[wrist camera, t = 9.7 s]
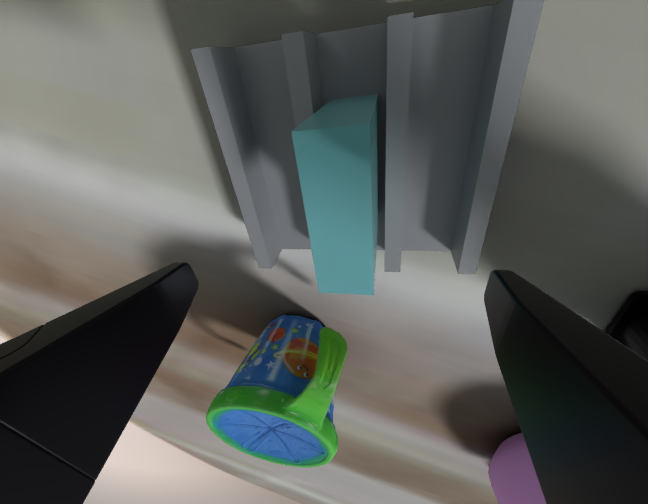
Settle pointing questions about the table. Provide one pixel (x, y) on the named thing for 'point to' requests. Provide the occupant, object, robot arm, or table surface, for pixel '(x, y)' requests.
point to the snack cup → (284, 395)
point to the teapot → (514, 474)
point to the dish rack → (379, 122)
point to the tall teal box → (341, 191)
